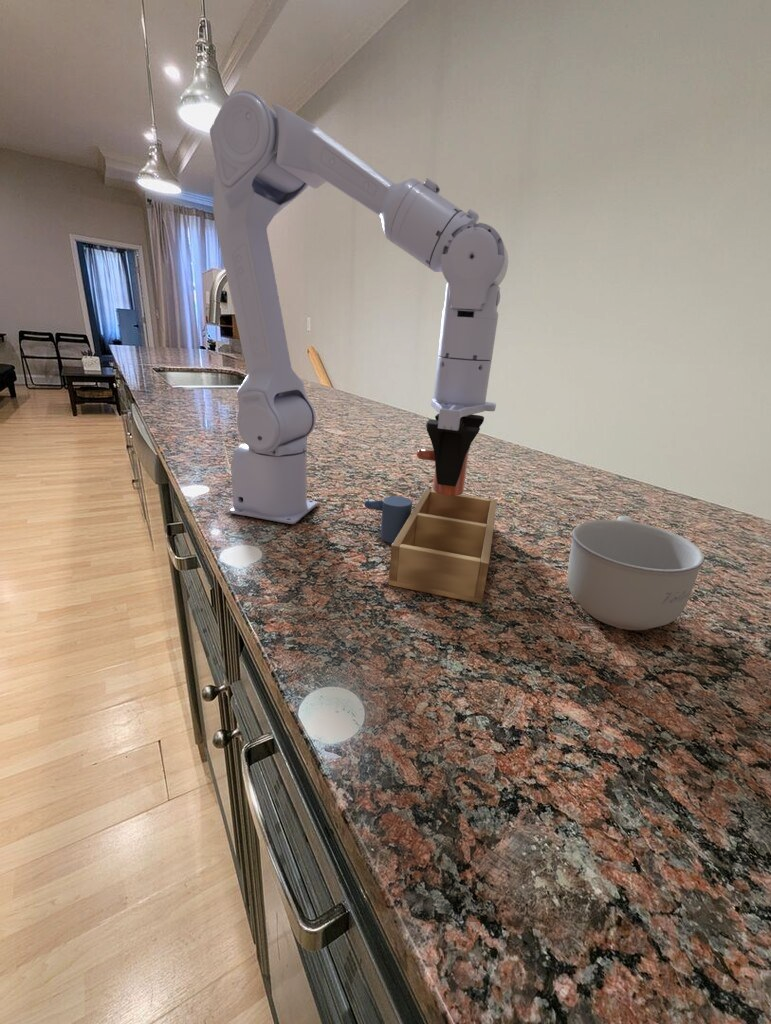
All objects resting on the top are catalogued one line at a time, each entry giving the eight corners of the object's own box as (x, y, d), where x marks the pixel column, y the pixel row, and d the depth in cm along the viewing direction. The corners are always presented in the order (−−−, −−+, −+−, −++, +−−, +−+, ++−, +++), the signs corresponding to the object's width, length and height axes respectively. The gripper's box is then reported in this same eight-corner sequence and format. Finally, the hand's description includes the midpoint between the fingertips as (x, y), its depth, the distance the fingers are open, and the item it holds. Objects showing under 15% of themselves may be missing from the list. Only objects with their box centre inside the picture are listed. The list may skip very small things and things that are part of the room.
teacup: (675, 663, 38) (707, 582, 35) (545, 616, 43) (563, 541, 40) (676, 592, 49) (701, 525, 46) (573, 561, 54) (589, 500, 51)
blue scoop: (358, 537, 56) (360, 500, 54) (367, 526, 59) (369, 491, 57) (405, 546, 55) (408, 508, 53) (411, 534, 58) (414, 498, 56)
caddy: (388, 584, 46) (391, 545, 44) (422, 519, 63) (425, 488, 61) (481, 604, 44) (489, 563, 42) (491, 531, 61) (497, 499, 59)
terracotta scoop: (410, 489, 53) (414, 448, 51) (416, 481, 56) (420, 442, 54) (461, 497, 51) (467, 455, 49) (464, 488, 55) (470, 448, 53)
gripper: (499, 365, 40) (478, 505, 45) (504, 358, 53) (487, 468, 58) (423, 359, 42) (410, 494, 47) (446, 353, 55) (434, 460, 60)
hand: (449, 479), depth 53 cm, fingers closed on terracotta scoop, 3 cm apart
